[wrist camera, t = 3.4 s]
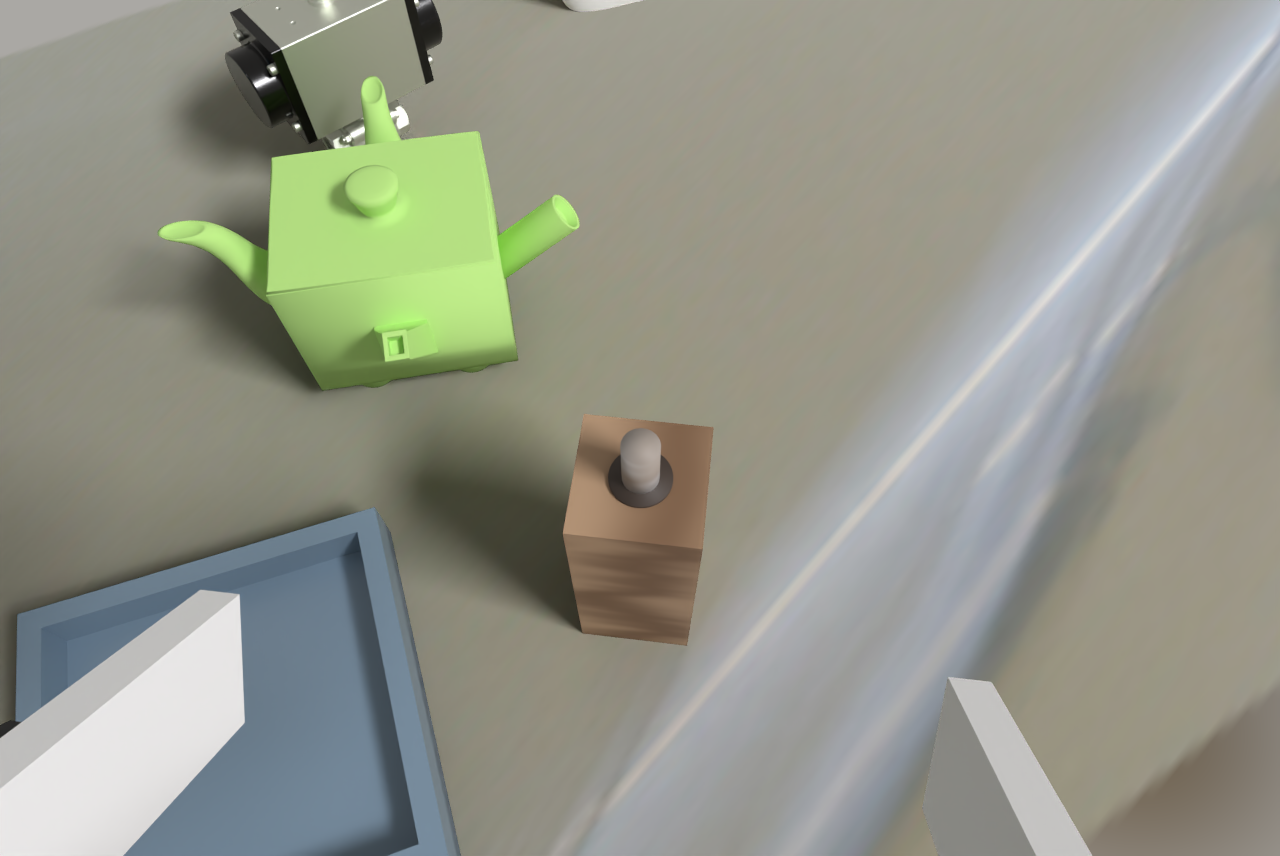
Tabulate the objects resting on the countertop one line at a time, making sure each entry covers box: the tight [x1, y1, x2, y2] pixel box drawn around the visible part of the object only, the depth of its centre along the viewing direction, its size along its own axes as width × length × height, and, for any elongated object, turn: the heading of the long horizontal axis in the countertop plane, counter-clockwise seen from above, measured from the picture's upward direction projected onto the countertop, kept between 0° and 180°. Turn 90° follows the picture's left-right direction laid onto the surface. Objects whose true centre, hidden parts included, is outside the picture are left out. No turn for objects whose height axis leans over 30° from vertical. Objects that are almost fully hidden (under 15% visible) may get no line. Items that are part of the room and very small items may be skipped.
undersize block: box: [563, 414, 713, 645], centre depth 36 cm, size 5×5×14 cm
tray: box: [16, 507, 461, 856], centre depth 37 cm, size 16×16×3 cm
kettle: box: [158, 76, 580, 391], centre depth 45 cm, size 15×14×11 cm
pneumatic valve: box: [225, 0, 442, 150], centre depth 52 cm, size 6×12×12 cm, turn 131°
